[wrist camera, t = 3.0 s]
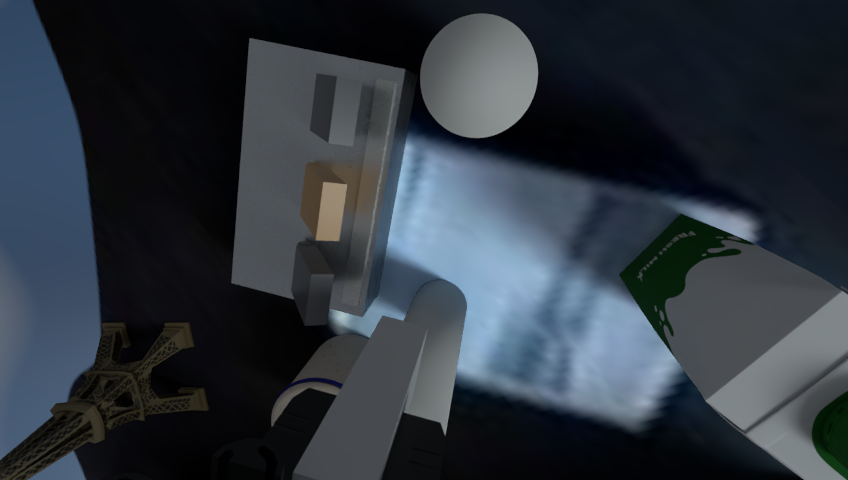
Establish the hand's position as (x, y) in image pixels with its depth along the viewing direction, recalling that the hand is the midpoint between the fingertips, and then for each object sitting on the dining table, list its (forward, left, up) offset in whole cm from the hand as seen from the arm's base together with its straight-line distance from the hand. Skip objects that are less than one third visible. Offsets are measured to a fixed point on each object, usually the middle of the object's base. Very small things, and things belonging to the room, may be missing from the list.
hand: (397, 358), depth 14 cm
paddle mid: (+12, 0, -21) cm, 24 cm away
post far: (0, +10, -26) cm, 28 cm away
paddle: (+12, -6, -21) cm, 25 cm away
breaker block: (+12, 0, -26) cm, 28 cm away
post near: (0, -9, -26) cm, 27 cm away
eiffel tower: (+29, +25, -26) cm, 46 cm away
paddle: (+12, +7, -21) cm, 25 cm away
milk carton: (-19, +1, -26) cm, 32 cm away
